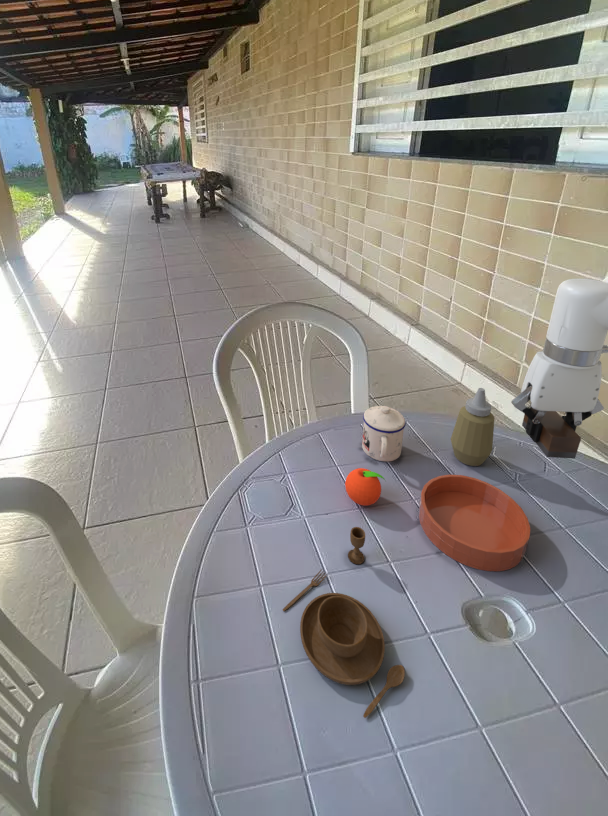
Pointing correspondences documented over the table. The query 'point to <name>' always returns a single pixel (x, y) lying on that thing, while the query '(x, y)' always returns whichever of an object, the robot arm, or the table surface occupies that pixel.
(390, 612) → the table surface
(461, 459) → the squeeze bottle
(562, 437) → the eraser
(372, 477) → the clementine
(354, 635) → the place setting
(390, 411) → the teacup with lid
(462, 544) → the bowl
